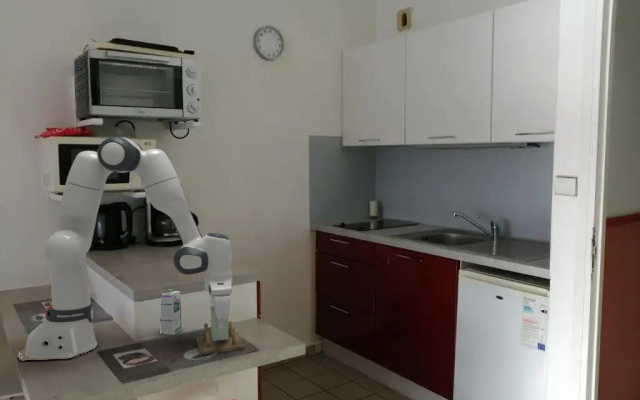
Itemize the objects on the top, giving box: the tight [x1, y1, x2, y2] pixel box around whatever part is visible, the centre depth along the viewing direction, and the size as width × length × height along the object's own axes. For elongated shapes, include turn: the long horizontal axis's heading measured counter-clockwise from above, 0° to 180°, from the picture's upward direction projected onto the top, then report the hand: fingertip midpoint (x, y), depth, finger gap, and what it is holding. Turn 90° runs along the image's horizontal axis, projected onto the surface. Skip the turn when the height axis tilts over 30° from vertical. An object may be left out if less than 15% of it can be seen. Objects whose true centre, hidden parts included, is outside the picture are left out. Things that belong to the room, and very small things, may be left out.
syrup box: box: [160, 290, 183, 336], centre depth 186 cm, size 6×6×14 cm
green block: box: [210, 305, 229, 341], centre depth 173 cm, size 5×5×10 cm
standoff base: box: [195, 320, 246, 355], centre depth 173 cm, size 14×14×6 cm
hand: (219, 325), depth 173 cm, fingers closed on green block, 5 cm apart
